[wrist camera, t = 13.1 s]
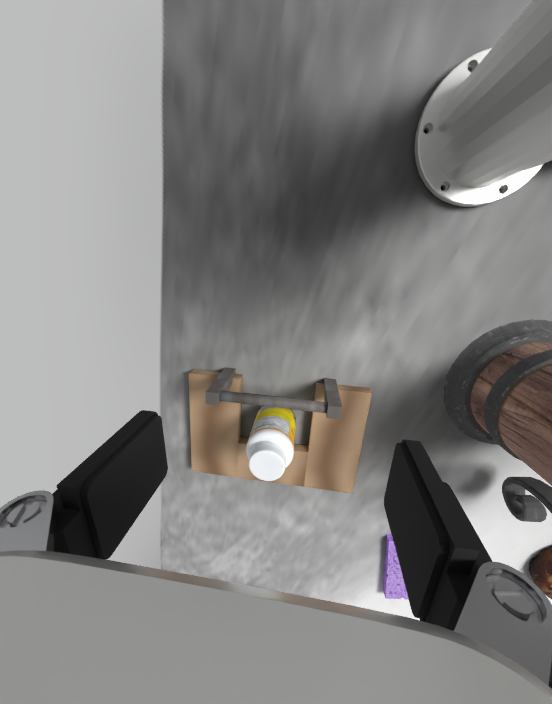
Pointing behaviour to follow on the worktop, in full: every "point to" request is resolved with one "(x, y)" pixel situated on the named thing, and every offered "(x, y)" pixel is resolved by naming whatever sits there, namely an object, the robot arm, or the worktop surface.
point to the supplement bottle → (271, 442)
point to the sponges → (393, 573)
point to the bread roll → (542, 571)
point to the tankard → (509, 405)
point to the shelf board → (308, 461)
